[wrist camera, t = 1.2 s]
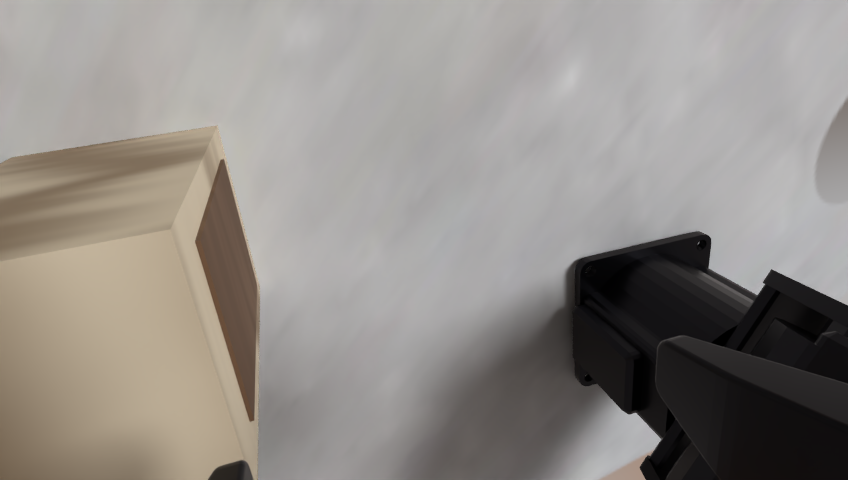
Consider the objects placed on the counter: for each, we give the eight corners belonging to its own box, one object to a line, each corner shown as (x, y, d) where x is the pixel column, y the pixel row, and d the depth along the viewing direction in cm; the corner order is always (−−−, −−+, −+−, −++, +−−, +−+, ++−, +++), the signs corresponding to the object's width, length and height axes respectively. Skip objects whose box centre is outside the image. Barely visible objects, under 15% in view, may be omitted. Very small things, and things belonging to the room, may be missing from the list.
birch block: (220, 124, 18) (176, 228, 9) (262, 286, 20) (262, 499, 11) (12, 157, 16) (-290, 316, 7) (83, 326, 19) (-82, 601, 10)
